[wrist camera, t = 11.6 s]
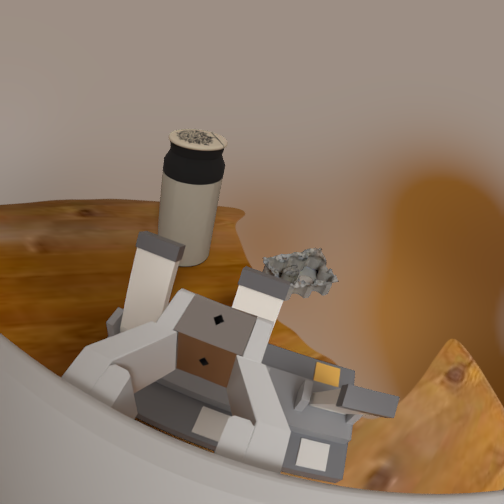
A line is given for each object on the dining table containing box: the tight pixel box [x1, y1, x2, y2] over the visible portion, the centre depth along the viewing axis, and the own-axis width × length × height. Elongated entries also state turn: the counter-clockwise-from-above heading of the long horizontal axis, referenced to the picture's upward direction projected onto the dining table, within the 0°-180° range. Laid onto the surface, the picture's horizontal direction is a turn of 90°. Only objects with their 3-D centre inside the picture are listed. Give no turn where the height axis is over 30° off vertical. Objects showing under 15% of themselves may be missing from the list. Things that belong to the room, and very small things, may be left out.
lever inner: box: [120, 231, 186, 333], centre depth 29 cm, size 2×4×11 cm, turn 75°
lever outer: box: [309, 384, 399, 418], centre depth 24 cm, size 2×4×11 cm, turn 74°
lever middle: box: [232, 266, 290, 327], centre depth 28 cm, size 2×4×11 cm, turn 75°
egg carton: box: [263, 248, 338, 301], centre depth 47 cm, size 11×8×4 cm
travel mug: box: [158, 129, 228, 266], centre depth 43 cm, size 8×8×18 cm
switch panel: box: [106, 307, 363, 483], centre depth 30 cm, size 14×27×5 cm, turn 75°
